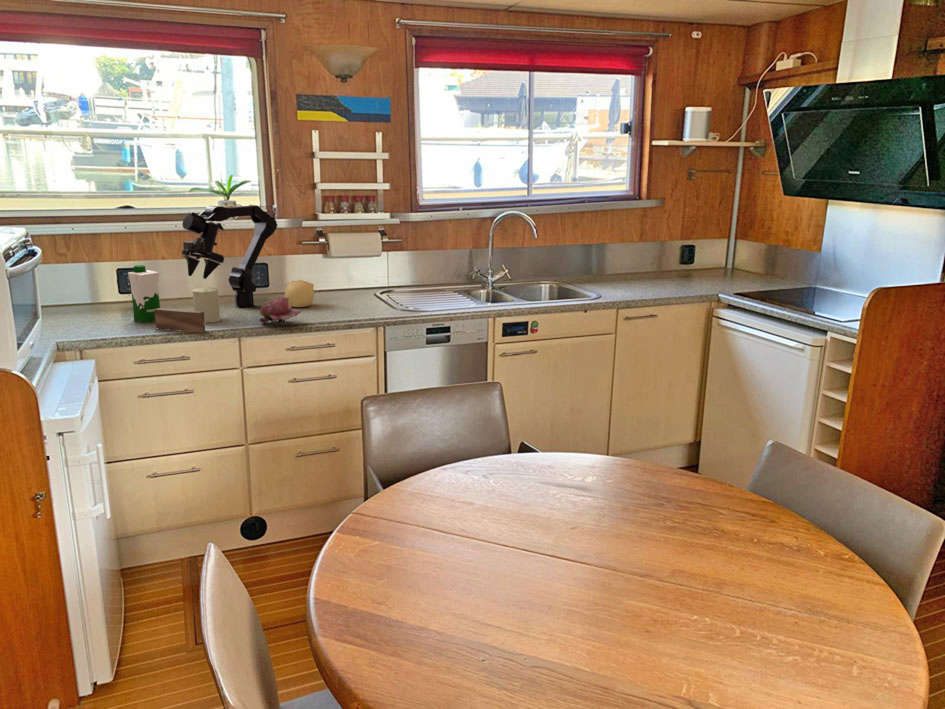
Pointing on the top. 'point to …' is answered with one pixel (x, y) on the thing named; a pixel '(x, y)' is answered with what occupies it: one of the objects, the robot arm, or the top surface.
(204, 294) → the can
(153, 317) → the milk carton
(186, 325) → the brown box
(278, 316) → the flower
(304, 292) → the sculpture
